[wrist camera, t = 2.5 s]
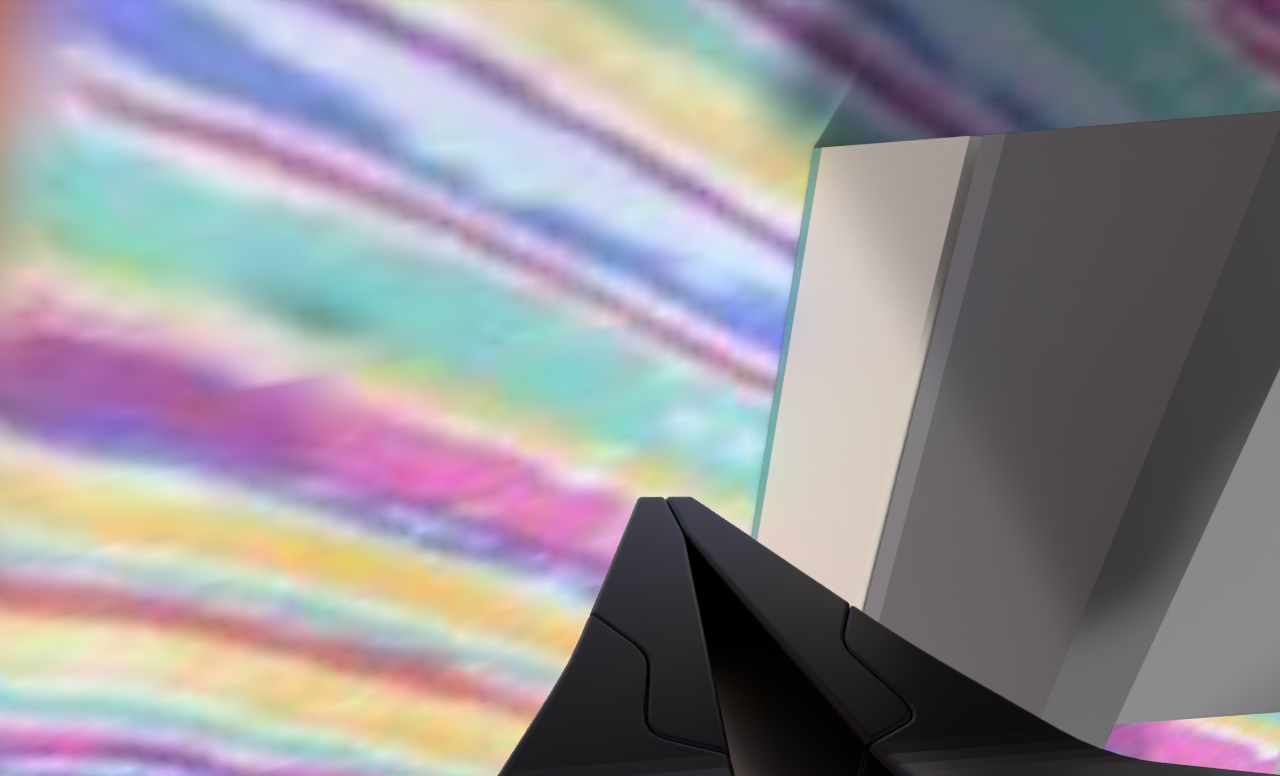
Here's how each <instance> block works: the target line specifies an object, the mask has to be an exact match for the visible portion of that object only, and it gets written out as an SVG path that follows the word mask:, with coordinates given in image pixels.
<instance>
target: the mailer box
mask: <svg viewBox="0 0 1280 776" xmlns="http://www.w3.org/2000/svg"><path fill="white" fill-rule="evenodd" d="M981 140H982V137H977V136H962V137H949V138H937V139H924V140H911V141H899V142H886V143H874V144H861V145H848V146H836V147H823V148H814V149H813V155H812V161H811V168H810V174H809V180H808V186H807V192H806V199H805V205H804V211H803V217H802V224H801V230H800V236H799V242H798V249H797V255H796V261H795V267H794V274H793V280H792V286H791V292H790V298H789V305H788V311H787V317H786V323H785V330H784V336H783V342H782V348H781V355H780V361H779V367H778V373H777V379H776V386H775V392H774V398H773V404H772V411H771V417H770V423H769V429H768V436H767V442H766V448H765V454H764V461H763V467H762V473H761V479H760V485H759V492H758V498H757V504H756V510H755V517H754V523H753V529H752V535H751V537H752V538H753V539H755V540H756V541H758V542H759V543H761V544H762V545H764V546H765V547H767V548H768V549H770V550H771V551H773V552H774V553H776V554H777V555H779V556H780V557H782V558H783V559H785V560H786V561H788V562H789V563H791V564H792V565H794V566H795V567H797V568H798V569H800V570H801V571H803V572H804V573H806V574H807V575H808V576H810V577H811V578H813V579H814V580H816V581H817V582H819V583H820V584H822V585H823V586H825V587H826V588H828V589H829V590H831V591H832V592H834V593H835V594H837V595H838V596H840V597H841V598H843V599H844V600H846V601H847V602H848V603H849V604H850V607H851V606H855V607H856V608H858V609H859V610H861V611H862V612H864V610H865V606H866V602H867V598H868V594H869V590H870V586H871V582H872V578H873V574H874V570H875V566H876V562H877V558H878V554H879V550H880V546H881V542H882V538H883V534H884V530H885V526H886V522H887V518H888V514H889V510H890V506H891V502H892V498H893V494H894V490H895V486H896V481H897V477H898V473H899V469H900V465H901V461H902V457H903V453H904V449H905V445H906V441H907V437H908V433H909V429H910V425H911V421H912V417H913V413H914V409H915V405H916V401H917V397H918V393H919V389H920V385H921V381H922V377H923V373H924V369H925V365H926V361H927V357H928V353H929V349H930V345H931V341H932V337H933V333H934V329H935V325H936V321H937V317H938V313H939V309H940V305H941V301H942V297H943V293H944V289H945V285H946V281H947V277H948V273H949V269H950V265H951V261H952V257H953V253H954V249H955V245H956V241H957V237H958V232H959V228H960V224H961V220H962V216H963V212H964V208H965V204H966V200H967V196H968V192H969V188H970V184H971V180H972V176H973V172H974V168H975V164H976V160H977V156H978V152H979V148H980V144H981ZM850 607H849V608H850Z"/></svg>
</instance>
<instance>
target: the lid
mask: <svg viewBox="0 0 1280 776" xmlns="http://www.w3.org/2000/svg"><path fill="white" fill-rule="evenodd" d="M864 613H865V614H867V615H868V616H870V617H871V618H873V619H874V620H876V621H877V622H879V623H880V624H882V625H883V626H885V627H887V628H888V629H890V630H891V631H893V632H894V633H896V634H897V635H899V636H901V637H902V638H904V639H905V640H907V641H908V642H910V643H912V644H913V645H915V646H917V647H918V648H920V649H922V650H923V651H925V652H927V653H928V654H930V655H932V656H933V657H935V658H937V659H939V660H940V661H942V662H944V663H945V664H947V665H949V666H950V667H952V668H954V669H956V670H957V671H959V672H961V673H963V674H964V675H966V676H968V677H970V678H971V679H973V680H975V681H976V682H978V683H980V684H982V685H983V686H985V687H987V688H989V689H990V690H992V691H994V692H996V693H997V694H999V695H1001V696H1003V697H1004V698H1006V699H1008V700H1010V701H1011V702H1013V703H1015V704H1017V705H1018V706H1020V707H1022V708H1024V709H1025V710H1027V711H1029V712H1031V713H1032V714H1034V715H1036V716H1038V717H1039V718H1041V719H1043V720H1045V721H1046V722H1048V723H1050V724H1051V725H1053V726H1055V727H1057V728H1059V729H1060V730H1062V731H1064V732H1066V733H1068V734H1070V735H1072V736H1074V737H1075V738H1077V739H1080V740H1082V741H1084V742H1087V743H1089V744H1091V745H1094V746H1096V747H1098V748H1101V749H1104V747H1105V744H1106V742H1107V740H1108V738H1109V736H1110V734H1111V732H1112V729H1113V727H1114V725H1115V724H1126V723H1139V722H1153V721H1166V720H1180V719H1193V718H1207V717H1221V716H1234V715H1248V714H1261V713H1275V712H1280V111H1277V112H1264V113H1251V114H1239V115H1226V116H1214V117H1201V118H1188V119H1176V120H1163V121H1151V122H1138V123H1125V124H1113V125H1100V126H1088V127H1075V128H1062V129H1050V130H1037V131H1025V132H1012V133H1000V134H987V135H983V136H982V140H981V144H980V148H979V152H978V156H977V160H976V164H975V168H974V172H973V176H972V180H971V184H970V188H969V192H968V196H967V200H966V204H965V208H964V212H963V216H962V220H961V224H960V228H959V232H958V237H957V241H956V245H955V249H954V253H953V257H952V261H951V265H950V269H949V273H948V277H947V281H946V285H945V289H944V293H943V297H942V301H941V305H940V309H939V313H938V317H937V321H936V325H935V329H934V333H933V337H932V341H931V345H930V349H929V353H928V357H927V361H926V365H925V369H924V373H923V377H922V381H921V385H920V389H919V393H918V397H917V401H916V405H915V409H914V413H913V417H912V421H911V425H910V429H909V433H908V437H907V441H906V445H905V449H904V453H903V457H902V461H901V465H900V469H899V473H898V477H897V481H896V486H895V490H894V494H893V498H892V502H891V506H890V510H889V514H888V518H887V522H886V526H885V530H884V534H883V538H882V542H881V546H880V550H879V554H878V558H877V562H876V566H875V570H874V574H873V578H872V582H871V586H870V590H869V594H868V598H867V602H866V606H865V610H864Z"/></svg>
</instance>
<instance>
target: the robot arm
mask: <svg viewBox="0 0 1280 776" xmlns="http://www.w3.org/2000/svg"><path fill="white" fill-rule="evenodd" d="M849 607H850V604H849V603H848V602H847V601H846V600H844V599H843V598H841V597H840V596H838V595H837V594H835V593H834V592H832V591H831V590H829V589H828V588H826V587H825V586H823V585H822V584H820V583H819V582H817V581H816V580H814V579H813V578H811V577H810V576H808V575H807V574H806V573H804V572H803V571H801V570H800V569H798V568H797V567H795V566H794V565H792V564H791V563H789V562H788V561H786V560H785V559H783V558H782V557H780V556H779V555H777V554H776V553H774V552H773V551H771V550H770V549H768V548H767V547H765V546H764V545H762V544H761V543H759V542H758V541H756V540H755V539H753V538H752V537H750V536H749V535H747V534H746V533H744V532H743V531H741V530H740V529H739V528H737V527H736V526H734V525H733V524H731V523H730V522H728V521H727V520H725V519H724V518H722V517H721V516H719V515H718V514H716V513H715V512H713V511H712V510H710V509H709V508H707V507H706V506H704V505H703V504H701V503H700V502H698V501H697V500H695V499H694V498H692V497H668V498H667V499H666V500H665V499H664V498H663V497H640V498H639V499H638V500H637V502H636V505H635V507H634V510H633V512H632V514H631V517H630V519H629V522H628V524H627V527H626V529H625V531H624V534H623V536H622V539H621V541H620V543H619V546H618V548H617V551H616V553H615V556H614V558H613V560H612V563H611V565H610V568H609V570H608V572H607V575H606V577H605V580H604V582H603V585H602V587H601V589H600V592H599V594H598V597H597V599H596V601H595V604H594V606H593V609H592V611H591V614H590V617H589V618H588V620H587V622H586V625H585V627H584V630H583V632H582V634H581V637H580V639H579V641H578V643H577V645H576V647H575V649H574V651H573V654H572V656H571V658H570V660H569V662H568V664H567V666H566V667H565V669H564V671H563V672H562V674H561V676H560V678H559V679H558V681H557V683H556V684H555V686H554V688H553V690H552V691H551V693H550V695H549V696H548V698H547V699H546V701H545V702H544V704H543V705H542V707H541V709H540V710H539V712H538V713H537V715H536V716H535V718H534V720H533V721H532V723H531V724H530V726H529V727H528V729H527V731H526V732H525V734H524V735H523V737H522V738H521V740H520V741H519V743H518V745H517V746H516V748H515V749H514V751H513V752H512V754H511V756H510V757H509V759H508V760H507V762H506V763H505V765H504V767H503V768H502V770H501V771H500V773H499V774H498V776H1280V775H1275V774H1265V773H1255V772H1246V771H1236V770H1227V769H1217V768H1208V767H1198V766H1188V765H1179V764H1169V763H1160V762H1152V761H1145V760H1140V759H1136V758H1131V757H1127V756H1123V755H1119V754H1116V753H1113V752H1110V751H1107V750H1104V749H1101V748H1098V747H1096V746H1094V745H1091V744H1089V743H1087V742H1084V741H1082V740H1080V739H1077V738H1075V737H1074V736H1072V735H1070V734H1068V733H1066V732H1064V731H1062V730H1060V729H1059V728H1057V727H1055V726H1053V725H1051V724H1050V723H1048V722H1046V721H1045V720H1043V719H1041V718H1039V717H1038V716H1036V715H1034V714H1032V713H1031V712H1029V711H1027V710H1025V709H1024V708H1022V707H1020V706H1018V705H1017V704H1015V703H1013V702H1011V701H1010V700H1008V699H1006V698H1004V697H1003V696H1001V695H999V694H997V693H996V692H994V691H992V690H990V689H989V688H987V687H985V686H983V685H982V684H980V683H978V682H976V681H975V680H973V679H971V678H970V677H968V676H966V675H964V674H963V673H961V672H959V671H957V670H956V669H954V668H952V667H950V666H949V665H947V664H945V663H944V662H942V661H940V660H939V659H937V658H935V657H933V656H932V655H930V654H928V653H927V652H925V651H923V650H922V649H920V648H918V647H917V646H915V645H913V644H912V643H910V642H908V641H907V640H905V639H904V638H902V637H901V636H899V635H897V634H896V633H894V632H893V631H891V630H890V629H888V628H887V627H885V626H883V625H882V624H880V623H879V622H877V621H876V620H874V619H873V618H871V617H870V616H868V615H867V614H865V613H864V612H862V611H861V610H859V609H858V608H856V607H855V606H851V607H850V608H849Z"/></svg>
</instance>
